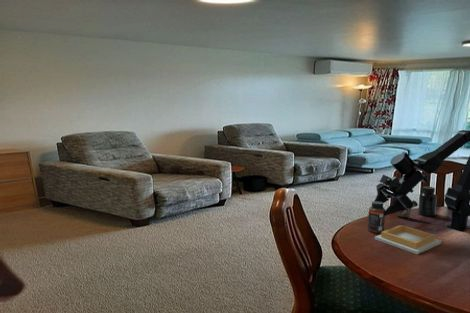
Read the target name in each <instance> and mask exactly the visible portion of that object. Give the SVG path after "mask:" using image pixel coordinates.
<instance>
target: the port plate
mask: <svg viewBox="0 0 470 313" xmlns="http://www.w3.org/2000/svg"><path fill="white" fill-rule="evenodd" d="M436 236H437V234H434V233H430V232H426V231H424V230H421V229H417V228H414V227H411V226H407V225H404V224H399V225H396V226H394V227H390V228H389V229H384V231H382V232H381V233H380V234H378V235H375V236H374V240H375V241H378V242H380V243H383V244H386V245H390V246H392V247H395V248H397V249H401V250H404V251H406V252H409V253H412V254H414V255H419V254H421V253H424V252H425V251H428V250H430V249H432V248H434V247H437V246H438V245H441V244H442V240H441V239H437V238H436Z"/></svg>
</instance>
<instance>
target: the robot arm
mask: <svg viewBox="0 0 470 313" xmlns="http://www.w3.org/2000/svg"><path fill="white" fill-rule="evenodd" d="M469 142H470V130H465V129H461V130H458V132H457V133H456V134H455V135H454V136H452V137H451V138H450V139H448V140H446V141H445V142H444V143H443V144H442V145H440V146H439V147H437V148H436V149H435V150H433V151H430V152H426V153H424V154H423V155H420V156H418V157H417V158H415V159H412V158H411V157H410V155H409V154H408V153H407V152H405V151H403V152H401V153H400V154H399V153H398V154H397V155H394V156H393V157H392V158H391V159H390V162H389V163H390V165H391V166H392V167H393V168H394V170H396V171H397V172H398V174H400V175H403V176H401V177H400V178H398V177H396V176H392V177H391V176H388V175H385V174H382V176H381V178H380V180H379V182H380V183H378V184H377V185H376V187H375V188H376V197H375V198H374V201H379V202H382V203H383V204H384V203H387V202H388V201H389V200H390V199H391V198H392V201H391V204H390V205H389V206H388V207H387V208H386V209H385V212H384V213H383V215H384V216H385V217H386V216H389V215H392V214H396V212H399V211H403V210H407V209H409V210H410V209H411V208H412V207H413V205H414V203H413V202H412V201H413V200H412V199H410V197H409V196H408V194H409V193H413V192H414V188H415V187H416V186H418V185H419V184H420V182H423V183H425V184H427V183H428V175H427V174H434V173H436V171H438V170H439V168H441V167H442V164H443V162H444V161H445V160H446V159H447V158H449V157H450V156H451V155H453V153H455V152H457V151H458V150H460V149H461V148H462V147H463V146H465V145H466V144H468V143H469ZM422 172H423V173H422ZM424 173H427V174H424ZM443 197H444V199H443V200H444V203H445V205H446V208H447V210H448V211H451V216H450V223H448V224H447V225H446V227H448V228H449V229H450V228H451V229H454V230H458V231H463V232H465V231H467V230H469V229H470V226H469V225H468V222H469V217H470V155H469V156H468V158H467V161H466V162H465V166H464V167H463V170H462V172H461V173H460V176H459V179H458V180H457V183H456V185H454V186H453V187H448V188H447V190H446V193H445V195H443ZM406 208H407V209H406ZM413 208H414V207H413ZM413 208H412V209H413ZM412 209H411V210H412Z"/></svg>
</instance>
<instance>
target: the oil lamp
mask: <svg viewBox="0 0 470 313" xmlns="http://www.w3.org/2000/svg"><path fill="white" fill-rule="evenodd" d="M411 201H412V202H413V203H414V205H413V207H412V208H411V209H410V210H409V209H407V208H406V209H407V210H403V211H399V212H396V213H395V215H396V216H398V217H400V218H410V217H411V211H412V209H413V208H418V207H419V203H418V202H417V201H416V200H411Z"/></svg>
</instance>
